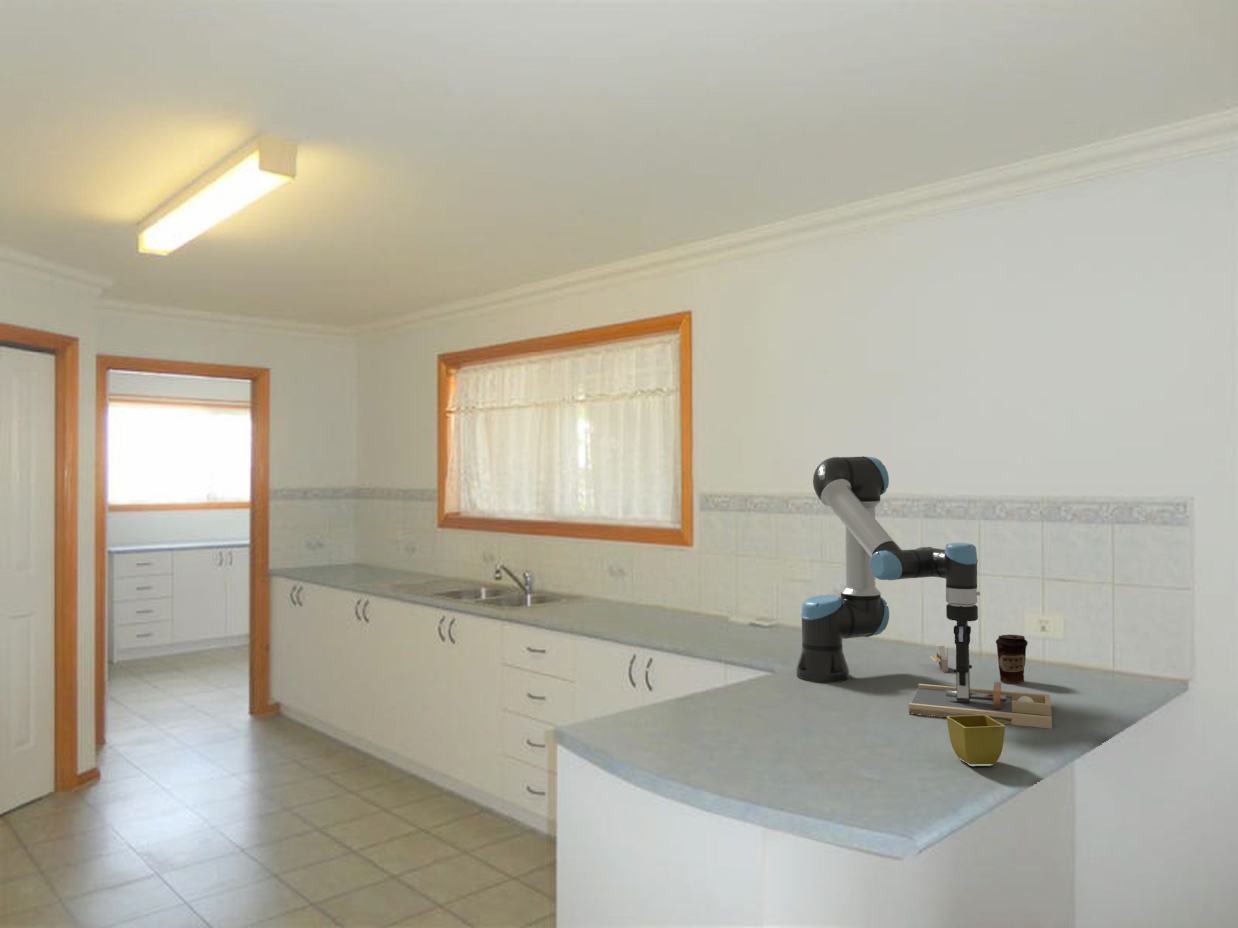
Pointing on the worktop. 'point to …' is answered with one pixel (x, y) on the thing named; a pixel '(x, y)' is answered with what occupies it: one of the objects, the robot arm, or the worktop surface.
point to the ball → (1025, 699)
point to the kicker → (994, 697)
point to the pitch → (984, 706)
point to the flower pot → (976, 738)
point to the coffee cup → (1011, 658)
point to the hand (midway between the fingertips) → (963, 695)
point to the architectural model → (942, 658)
